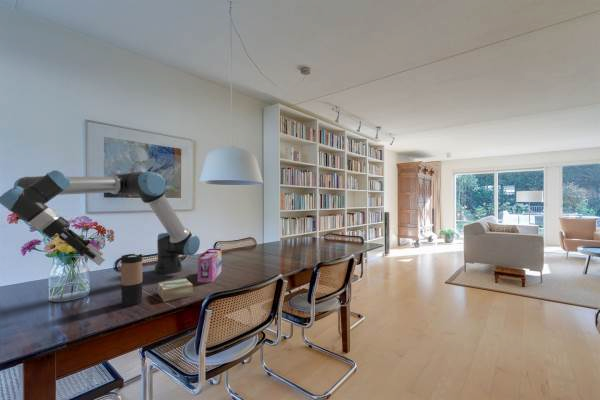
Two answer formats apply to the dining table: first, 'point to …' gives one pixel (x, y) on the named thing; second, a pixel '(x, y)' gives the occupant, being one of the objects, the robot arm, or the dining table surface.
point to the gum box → (209, 265)
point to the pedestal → (175, 289)
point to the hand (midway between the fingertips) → (101, 259)
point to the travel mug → (131, 279)
